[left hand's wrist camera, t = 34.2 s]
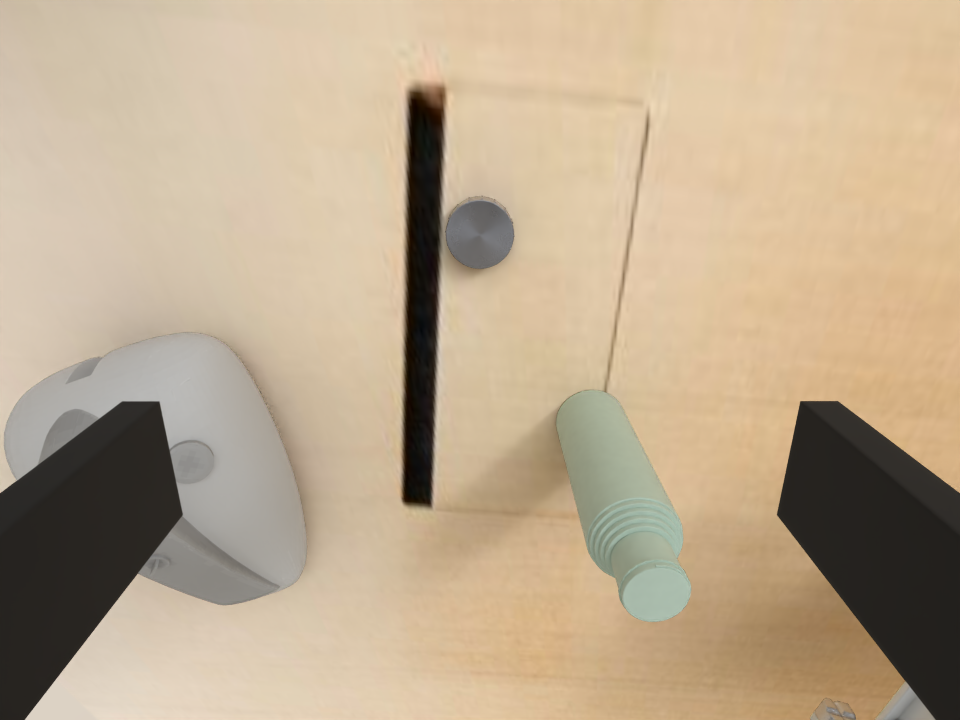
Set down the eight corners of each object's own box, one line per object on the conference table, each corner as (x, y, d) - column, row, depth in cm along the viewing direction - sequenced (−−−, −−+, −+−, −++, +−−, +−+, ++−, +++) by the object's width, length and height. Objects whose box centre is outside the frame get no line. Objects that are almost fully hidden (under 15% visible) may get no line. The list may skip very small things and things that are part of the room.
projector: (37, 516, 51) (-127, 659, 37) (83, 266, 43) (-102, 330, 29) (292, 597, 54) (228, 757, 40) (377, 376, 46) (334, 480, 32)
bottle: (620, 452, 49) (702, 639, 31) (553, 450, 49) (596, 637, 31) (628, 390, 47) (720, 552, 29) (558, 388, 47) (607, 549, 29)
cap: (525, 223, 42) (528, 228, 40) (485, 274, 43) (486, 282, 41) (473, 182, 41) (473, 185, 39) (434, 235, 42) (431, 241, 40)
